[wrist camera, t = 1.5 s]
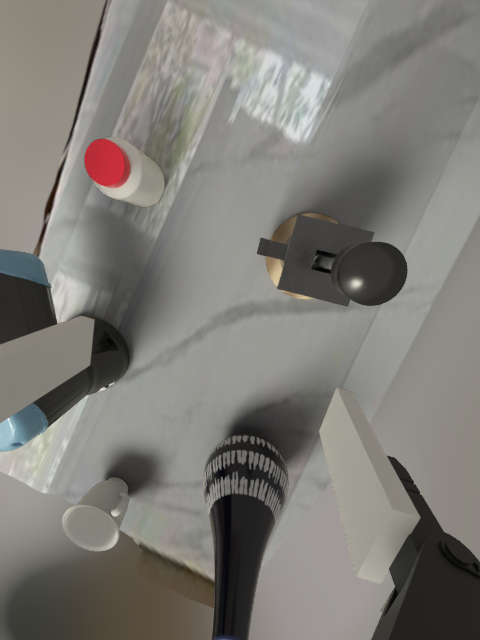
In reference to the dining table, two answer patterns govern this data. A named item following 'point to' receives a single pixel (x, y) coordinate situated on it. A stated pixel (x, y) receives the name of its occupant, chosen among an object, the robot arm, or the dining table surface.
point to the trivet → (282, 236)
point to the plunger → (365, 271)
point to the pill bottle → (124, 172)
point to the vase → (241, 523)
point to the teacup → (98, 516)
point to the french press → (312, 256)
